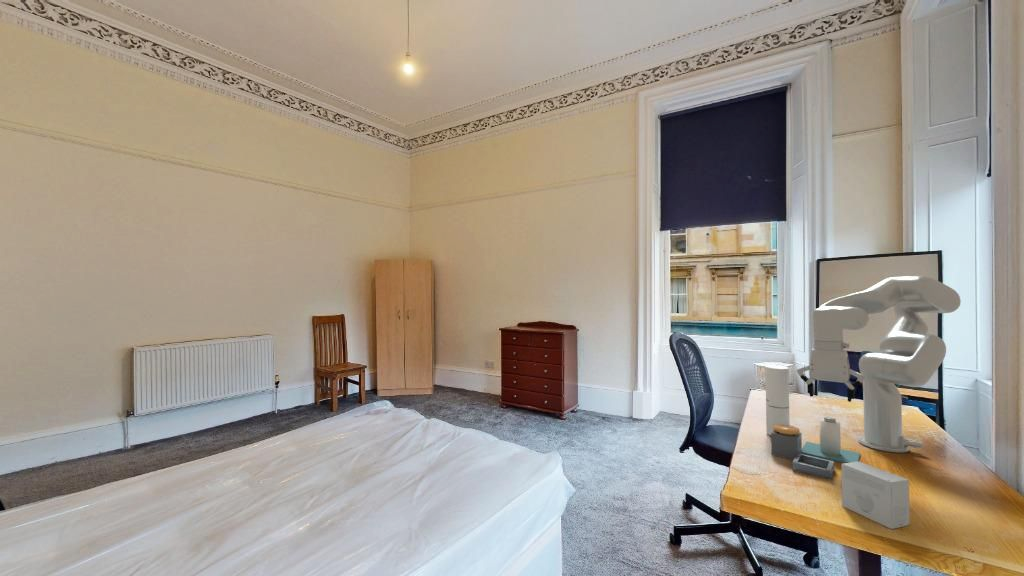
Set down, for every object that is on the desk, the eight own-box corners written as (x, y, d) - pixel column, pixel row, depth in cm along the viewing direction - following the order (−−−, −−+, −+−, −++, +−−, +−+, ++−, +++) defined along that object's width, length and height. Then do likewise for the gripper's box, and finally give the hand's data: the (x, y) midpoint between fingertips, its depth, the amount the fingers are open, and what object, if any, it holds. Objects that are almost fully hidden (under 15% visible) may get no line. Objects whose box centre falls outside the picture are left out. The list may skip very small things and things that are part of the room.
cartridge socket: (834, 469, 116) (834, 461, 116) (830, 480, 110) (830, 471, 110) (798, 461, 123) (798, 453, 123) (792, 470, 116) (792, 461, 116)
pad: (860, 454, 127) (860, 452, 127) (857, 466, 118) (857, 464, 118) (806, 443, 137) (806, 441, 137) (800, 453, 128) (800, 451, 128)
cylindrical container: (782, 431, 149) (781, 365, 149) (794, 438, 141) (793, 369, 142) (762, 430, 149) (761, 365, 150) (773, 437, 142) (772, 368, 142)
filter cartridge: (841, 452, 128) (841, 418, 128) (839, 456, 124) (839, 422, 124) (821, 447, 131) (820, 414, 131) (818, 452, 128) (818, 418, 128)
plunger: (801, 443, 128) (801, 427, 128) (797, 449, 123) (797, 433, 123) (776, 437, 133) (776, 422, 133) (771, 443, 128) (771, 427, 128)
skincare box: (911, 525, 89) (910, 478, 89) (892, 530, 87) (891, 482, 87) (859, 501, 99) (858, 459, 99) (840, 505, 97) (839, 463, 97)
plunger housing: (801, 454, 128) (801, 432, 128) (797, 460, 123) (797, 438, 123) (776, 448, 133) (776, 427, 133) (771, 454, 128) (771, 432, 128)
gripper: (864, 346, 125) (866, 400, 125) (798, 342, 137) (799, 391, 137) (862, 349, 119) (865, 405, 119) (793, 345, 132) (795, 396, 131)
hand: (830, 398), depth 128 cm, fingers open, 9 cm apart
